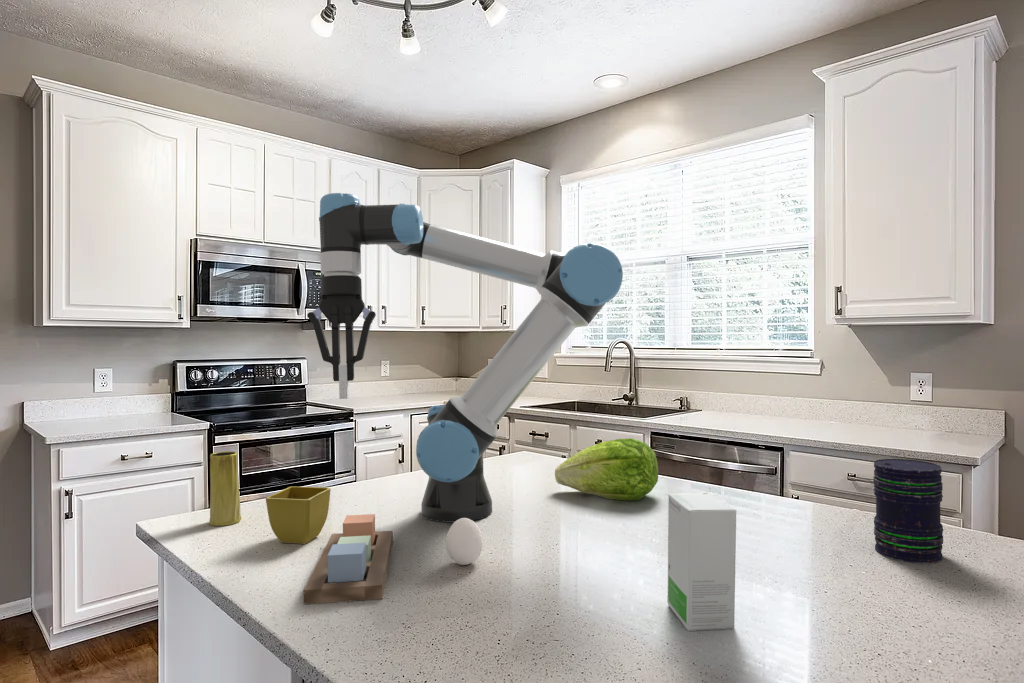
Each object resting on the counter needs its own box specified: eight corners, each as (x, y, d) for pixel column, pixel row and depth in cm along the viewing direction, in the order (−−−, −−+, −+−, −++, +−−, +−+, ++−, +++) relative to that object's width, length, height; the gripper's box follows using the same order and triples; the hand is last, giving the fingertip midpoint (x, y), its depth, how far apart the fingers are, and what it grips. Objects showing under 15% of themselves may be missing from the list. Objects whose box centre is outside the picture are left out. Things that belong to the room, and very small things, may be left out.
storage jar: (933, 546, 109) (932, 460, 109) (952, 566, 100) (951, 472, 100) (868, 541, 112) (867, 457, 112) (881, 560, 103) (879, 468, 103)
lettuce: (565, 456, 161) (545, 435, 149) (661, 447, 152) (647, 424, 141) (564, 512, 154) (543, 495, 142) (665, 507, 145) (651, 488, 133)
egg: (441, 561, 106) (441, 515, 106) (475, 555, 108) (474, 511, 108) (452, 573, 100) (452, 525, 100) (488, 567, 103) (487, 520, 103)
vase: (214, 528, 127) (212, 457, 127) (205, 522, 131) (203, 453, 131) (245, 522, 131) (244, 453, 131) (235, 516, 135) (234, 449, 135)
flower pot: (309, 549, 113) (308, 499, 113) (265, 546, 115) (264, 497, 115) (332, 533, 122) (331, 487, 122) (291, 531, 124) (290, 486, 124)
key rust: (375, 536, 114) (374, 514, 114) (372, 545, 109) (372, 522, 109) (346, 537, 113) (346, 515, 113) (343, 546, 108) (342, 523, 108)
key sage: (371, 559, 106) (370, 535, 106) (368, 569, 101) (367, 545, 101) (340, 560, 105) (340, 537, 105) (336, 571, 100) (335, 546, 100)
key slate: (366, 568, 98) (365, 542, 98) (362, 580, 93) (362, 553, 93) (333, 570, 97) (332, 544, 97) (328, 582, 92) (327, 555, 92)
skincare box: (666, 604, 87) (665, 492, 87) (713, 602, 88) (711, 490, 88) (688, 633, 79) (686, 509, 79) (739, 630, 80) (737, 507, 79)
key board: (393, 541, 117) (393, 530, 117) (382, 598, 91) (382, 584, 91) (332, 544, 115) (331, 533, 115) (303, 604, 90) (303, 590, 90)
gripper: (376, 277, 126) (379, 395, 126) (309, 278, 124) (312, 397, 124) (374, 273, 119) (377, 398, 119) (302, 274, 117) (305, 401, 117)
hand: (344, 398), depth 122 cm, fingers closed
